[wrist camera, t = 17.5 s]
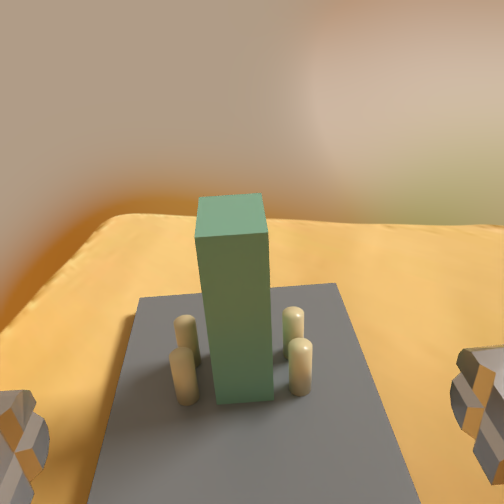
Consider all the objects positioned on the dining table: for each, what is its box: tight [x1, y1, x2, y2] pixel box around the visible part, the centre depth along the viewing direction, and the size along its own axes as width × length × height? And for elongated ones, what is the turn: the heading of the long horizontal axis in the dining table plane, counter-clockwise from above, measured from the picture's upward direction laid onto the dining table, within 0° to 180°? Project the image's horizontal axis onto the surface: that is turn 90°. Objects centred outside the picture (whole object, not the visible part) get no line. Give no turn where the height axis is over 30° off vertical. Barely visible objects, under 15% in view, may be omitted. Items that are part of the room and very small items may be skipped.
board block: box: [195, 193, 274, 405], centre depth 22 cm, size 3×4×10 cm
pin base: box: [87, 283, 421, 504], centre depth 25 cm, size 14×16×4 cm
